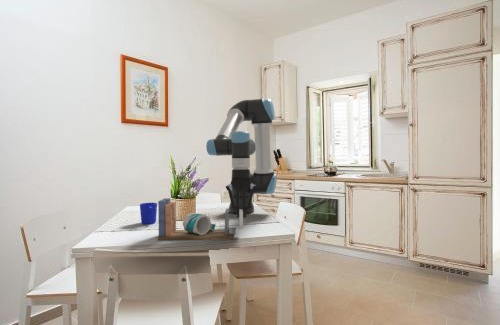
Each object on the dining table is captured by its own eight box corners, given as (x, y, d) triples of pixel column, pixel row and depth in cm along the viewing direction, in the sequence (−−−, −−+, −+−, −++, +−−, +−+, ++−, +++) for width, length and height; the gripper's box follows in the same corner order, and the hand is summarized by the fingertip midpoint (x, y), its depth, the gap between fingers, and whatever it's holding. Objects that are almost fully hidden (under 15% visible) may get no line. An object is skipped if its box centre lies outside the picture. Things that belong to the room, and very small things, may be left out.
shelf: (166, 232, 126) (165, 197, 126) (234, 231, 126) (234, 197, 126) (157, 240, 114) (157, 201, 114) (233, 239, 114) (233, 201, 114)
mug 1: (142, 227, 136) (141, 206, 136) (139, 223, 146) (138, 203, 146) (160, 225, 139) (159, 205, 139) (155, 221, 150) (155, 202, 150)
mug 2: (185, 211, 121) (198, 213, 115) (207, 215, 129) (219, 218, 124) (180, 230, 119) (193, 234, 113) (202, 234, 127) (215, 237, 122)
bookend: (226, 229, 125) (226, 208, 125) (235, 229, 125) (235, 208, 125) (225, 234, 116) (224, 212, 116) (235, 234, 116) (234, 212, 116)
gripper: (224, 169, 116) (224, 227, 116) (256, 168, 116) (257, 227, 116) (225, 168, 124) (226, 223, 124) (256, 168, 124) (256, 223, 124)
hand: (241, 225), depth 120 cm, fingers closed
